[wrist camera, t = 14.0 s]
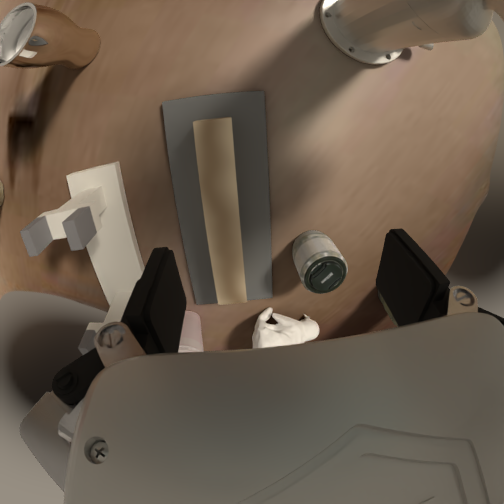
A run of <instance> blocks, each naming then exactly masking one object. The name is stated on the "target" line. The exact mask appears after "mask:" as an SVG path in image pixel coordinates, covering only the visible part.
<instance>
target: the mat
mask: <svg viewBox="0 0 504 504" xmlns="http://www.w3.org/2000/svg"><path fill="white" fill-rule="evenodd" d="M162 106H163V115H164V124H165V133H166V141H167V149H168V156H169V163H170V170H171V177H172V183H173V189H174V196H175V201H176V207H177V213H178V219H179V224H180V229H181V234H182V240H183V245H184V250H185V254H186V259H187V264H188V269H189V273H190V278H191V282H192V287H193V291H194V295H195V299H196V304H197V305H198V304H211V303H218V300H217V294H216V288H215V282H214V276H213V270H212V264H211V258H210V252H209V245H208V239H207V232H206V225H205V218H204V211H203V204H202V197H201V189H200V181H199V173H198V165H197V156H196V147H195V138H194V129H193V122H194V121H197V120H205V119H214V118H224V117H231V118H232V131H233V144H234V156H235V169H236V181H237V193H238V205H239V217H240V229H241V240H242V251H243V263H244V274H245V285H246V295H247V300H256V299H266V298H272V258H271V225H270V197H269V173H268V151H267V131H266V113H265V96H264V91H249V92H234V93H222V94H212V95H204V96H196V97H189V98H182V99H176V100H170V101H165V102H162Z"/></svg>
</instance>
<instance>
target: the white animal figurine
mask: <svg viewBox="0 0 504 504" xmlns="http://www.w3.org/2000/svg"><path fill="white" fill-rule="evenodd" d="M271 314H272V308H271V307H269V308H267V309H265V310H264V311H263V312H262V313H261V314H260V315H259V316H258V319H257V322H256V325H255V330H254V333H253V335H252V340H253V348H263V347H274V346H283V345H292V344H300V343H304V342H305V341H310V340H312V339H315V338H316V337H317V336H318V334H319V326H318V324H317V323H316V322H315V321H313V320H311V319H310V318H309V317H307V315H305V314H304V315H305V316H306V318H305V319H302V320H301V321H298V320H296V319H292V318H290V317H286V316H283V315H280V314H276V313H273V314H272V317H273V318H274V319H275V320H276V321H277V322H278V324H275V325H273V324H267V323H266V321H267V320H268V319H269V318H270V317H271Z"/></svg>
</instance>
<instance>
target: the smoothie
mask: <svg viewBox="0 0 504 504" xmlns="http://www.w3.org/2000/svg"><path fill="white" fill-rule="evenodd" d="M180 352H203V342H202V332H201V321H200V316H199V315H198V314H197V313H195V312H193V311H185V316H184V321H183V327H182V332H181V338H180V344H179V350H178V353H180Z"/></svg>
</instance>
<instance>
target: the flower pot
mask: <svg viewBox="0 0 504 504" xmlns="http://www.w3.org/2000/svg"><path fill="white" fill-rule="evenodd" d="M3 190H4V188H3V184H2V182H1V180H0V206H1V205H2V203H3V200H4V194H3Z"/></svg>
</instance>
